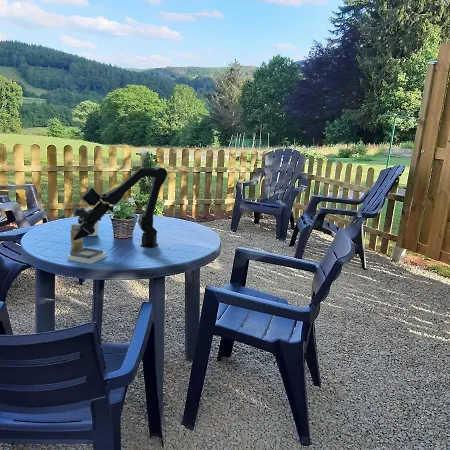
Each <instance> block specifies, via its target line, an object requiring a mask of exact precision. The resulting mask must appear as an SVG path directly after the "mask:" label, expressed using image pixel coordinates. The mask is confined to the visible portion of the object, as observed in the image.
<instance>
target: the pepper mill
mask: <svg viewBox="0 0 450 450" xmlns="http://www.w3.org/2000/svg"><path fill="white" fill-rule="evenodd" d="M80 225H81V224H78V223H72V224H71V228H70V231H69V232H70V251H71V253H72V252H75V251H77V250H80V249H82V248H84V241H83V238H84V237H83V238H80V239H78V240H74V237H75V236H76V234H77V233H78V231H79V230H80Z"/></svg>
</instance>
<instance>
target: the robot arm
mask: <svg viewBox="0 0 450 450" xmlns="http://www.w3.org/2000/svg"><path fill="white" fill-rule="evenodd" d="M144 177H149V178H151V186H150V191H149V195H148V198H147V202H146V205H145V208H144V209H145V210H144V212H143V213H142V214H141V213H139V216H138V217H139V218H138V220H137V224H138V227H139V228H140V230H141V231H142V233H141V234H142V235H141V244H140V247H146V248H151V249H152V248H155V247H156V246H158V245H159V243H158V241H157V236H158V235H157V234H158V230H157V229H156V228H155V227H154V212H155V208H156V206H157V205H156V204H157V202H158V198H159V194H160V191H161V187H162V186H163V184H164V183H165V181H166V179H167V177H168V171H167V170H166V168H164V167H162V166H155V167H143V166H141V167H138V168H137V170H136V171H135V172H133V173H132V174H131V175H130V176H129V177H128V178H126V180H124V181H123V182H121V184H119V185H118V186H117V187H114V188H112V189H111V190H109V191H107V192H106V193H102V194H100V193H98V192H97V191H96V190H95V189H94V188H93V187H90V188H89V189H88V190H86V191H84V193H83V194H82V195H81V197H80V198H81V200H83V201H84V202H85V203H86V204H87V205H89V206H90V207H92V208H93V209H92V210H89V211H87V210H85V209H86V208H83V207H79V206H76V207H75V209H74V211H73V214H74V216H76V217H77V216H78V218H77V222H78V223H77V224H81V225H80V230H79V231H78V233H77V234H76V236H75V237H74V240H78V239H80V238H85V237H89V236H88V235H91V234H93V233H94V232H95V228H94V226H95V224H96V223H97V222H98V221H102V218H103V217H104V216H105V215H106V214H107V213H108V212H111V213H112V214H113V213H114V207H115V205H118V204H119V202H121V200H122V199H123V197H124V196H125V195H126V193H127V192H128V191H129V190H130V189H131V188H132V187H134V186H135V185H136V184H137V183H138V182H139V181H141V180H142V179H143V178H144Z"/></svg>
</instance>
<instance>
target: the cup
mask: <svg viewBox="0 0 450 450" xmlns="http://www.w3.org/2000/svg"><path fill="white" fill-rule="evenodd" d="M93 208H94V207H91V208H90V207H89V208H88V207H87V208H84V209H85V210H87V211H89V210H92V209H93ZM99 224H100V222H99V221H98V222H97V223H96V224H95V226H94V228H95V232H94V233H93V234H91V235H88V236H87V237H95V236H97V235H99V231H100V230H99V229H100V227H99V226H100V225H99Z"/></svg>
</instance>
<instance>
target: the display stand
mask: <svg viewBox="0 0 450 450" xmlns="http://www.w3.org/2000/svg"><path fill="white" fill-rule="evenodd" d="M66 257H67V261H71V262H78V263H82V264H88V265H91V264H94V263H96V262H99V261H100V260H102V259H105V258H107V252H106V251H104V250H101V249H96V248H95V249H94V248H90V247H83V248H82V249H80V250H77V251H75V252H72V251H71V253H70V254H68V255H66Z"/></svg>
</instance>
